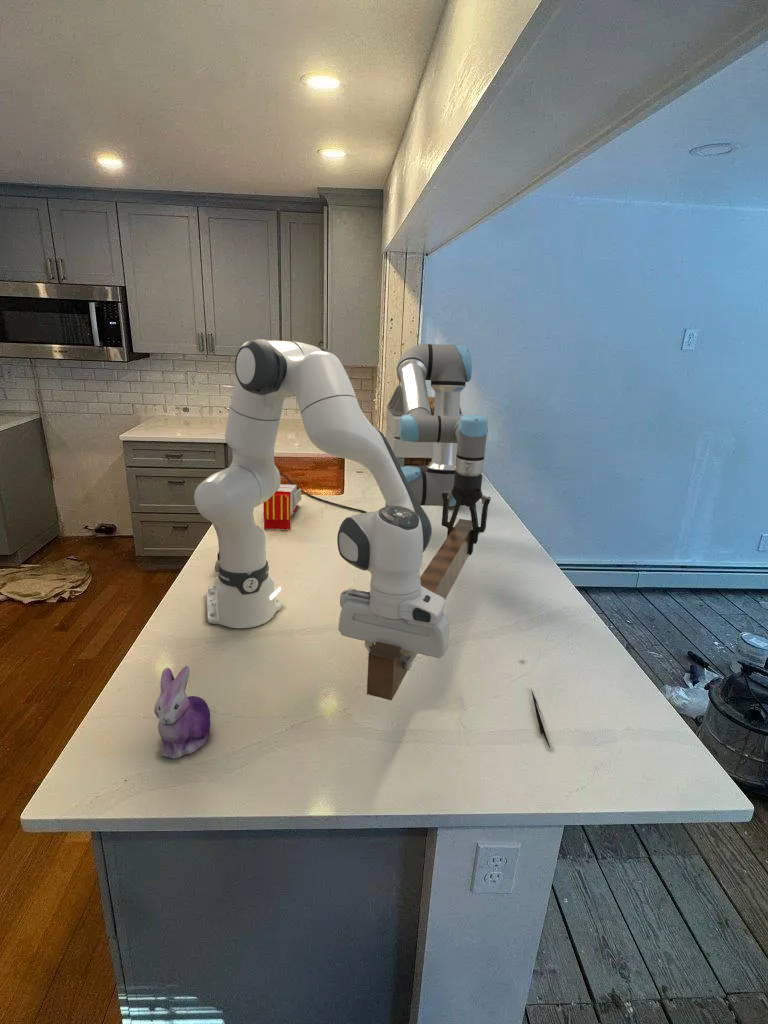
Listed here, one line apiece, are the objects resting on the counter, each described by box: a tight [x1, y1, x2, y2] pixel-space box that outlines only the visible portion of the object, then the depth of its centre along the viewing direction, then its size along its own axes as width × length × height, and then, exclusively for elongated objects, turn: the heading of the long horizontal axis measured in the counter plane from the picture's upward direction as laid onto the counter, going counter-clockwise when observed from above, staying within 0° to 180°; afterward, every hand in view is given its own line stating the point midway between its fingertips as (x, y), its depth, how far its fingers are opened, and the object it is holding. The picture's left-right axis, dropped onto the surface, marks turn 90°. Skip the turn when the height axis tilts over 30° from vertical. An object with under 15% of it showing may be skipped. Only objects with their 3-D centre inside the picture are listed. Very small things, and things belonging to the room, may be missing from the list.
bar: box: [366, 518, 473, 701], centre depth 132 cm, size 75×5×8 cm, turn 161°
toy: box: [262, 483, 302, 531], centre depth 210 cm, size 12×13×30 cm
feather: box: [521, 660, 551, 748], centre depth 116 cm, size 2×28×2 cm
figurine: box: [153, 665, 211, 759], centre depth 99 cm, size 9×10×15 cm
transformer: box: [385, 384, 463, 467], centre depth 268 cm, size 34×33×41 cm
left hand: (391, 664), depth 105 cm, fingers closed on bar, 5 cm apart
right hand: (461, 551), depth 162 cm, fingers closed on bar, 5 cm apart
